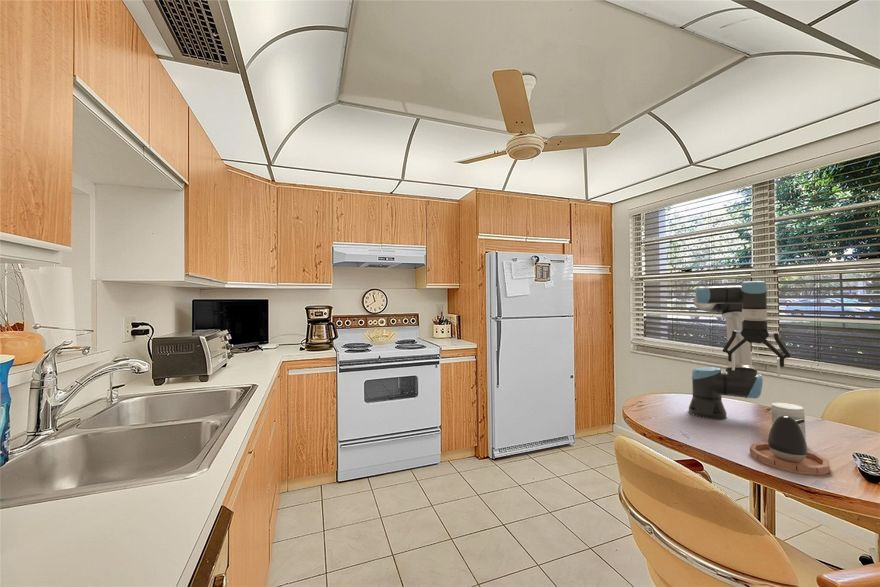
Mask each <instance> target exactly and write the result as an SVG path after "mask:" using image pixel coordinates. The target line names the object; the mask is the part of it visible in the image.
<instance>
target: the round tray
mask: <svg viewBox="0 0 880 587" xmlns="http://www.w3.org/2000/svg"><path fill="white" fill-rule="evenodd" d="M749 453H750V456H751V457H752V458H754V459H755V460H756V461H758V462H760V463H762V464H764V465H766V464H767V465H766V466H770V467H772V468H774V469H779V470H781V471H785V472H790V473H794V474H799V475H800V474H801V475H806V474H807V476H824V474H825V475H828V474H830V472H831V471H830V468H831V467H830V464H831V463H830V460H828V459H826V458H824V457H823V456H822V455H820V454H817V453H815V452H812V451H809V450H808V454H807V455H806V457H805V459H804V460H802V461H800V462H789V461H785V460H782V459H780V458H778V457H776V456H775V455H774V454H773V453H772V452H771V450H770V448H769V446H768V442H755V443H754V442H753V443H751V444H750V446H749ZM829 471H830V472H829ZM827 473H828V474H827Z"/></svg>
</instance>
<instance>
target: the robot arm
mask: <svg viewBox="0 0 880 587" xmlns="http://www.w3.org/2000/svg"><path fill="white" fill-rule="evenodd" d="M694 293H695V294H694V297H693V299H692V301H693V304H694V306H695V307H696V309H698V310H701V311H703V312H708V313H719V314H720V313H721V317H722V318H723V319H725V323H726V324H725V326H726V337H727V342H726V344H725V346H724V347H723V348H722V352H723V353H726V354H727V361H728V366H726V367H725V371H724V370H723V371H722V369H721V368H720V367H715V366H714V367H713V366H705V367H704V366H703V367H696V368H693V370H692V372H691V379H692V380H691V381H692V384H691V385H692V387H691V388H692V397H691V401H690V403H689V405H688V412H690V413H689V414H691V413H692V414H691V415H693V414H694V415H693V416H695V415H697V417H699V416H700V417H699V418H703V417H704V419H711V420H724V419H727V410H726V408H725V406H724V403H723V400H722V396H726V397H735V398H736V397H737V398H743V399H744V398H745V399H758V398H759V397H761V394H762V391H763V384H764V383H763V382H764V381H763V380H764V379H763V375H762V374H760V373H758V370H757V369H756V368H755V367H754V366H753V359H752V350H751V349H752V348H751V344H753V343H756V344H761V343H762V344H764V345H765V346H766V347H767V348H768V349H769V350H770V351H771V352H773V353H774V354H775V355H776V356H777V358H776V375H777V376H779V377H780V376H781V368H784V367H785V359H789V358H791V356H792V355H791V353H790V352H789V350H788V349H787V348H786V346H785V345H784V343H783V341H782V340H781V339H780V336H779V333H778V332H769V331H768V321H767V319H768V306H767V305H768V302H767V301H768V298H767V297H768V287H767V282H765V281H764V280H762V281H761V280H757V281H756V280H753V281H751V280H750V281H743V282H741V285H729V286H728V285H727V286H697V287H696V288H695V292H694ZM769 337H771V338H772V339H773V340H775V343H776V344H777V345H778V347H779V348H780V350H781V351H782V352H780V350H778V349H777V347H775V346H774V345H773V344H772V343H771V342H770V341H769V340H767V338H769Z"/></svg>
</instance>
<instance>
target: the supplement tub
mask: <svg viewBox="0 0 880 587" xmlns="http://www.w3.org/2000/svg"><path fill="white" fill-rule="evenodd" d="M770 408H771V410H770V411H771V426H772V425H773V423H774V421H775V420H776V419H777V418H778V417H780V416H788V417H791V418H793V419H794V420H795V421H796V420H800V419H803V420H804V421H805V422H803V423H801V424H798V425H799V426H800V428H801V430H802V432H803V434H804V437H805V440H806V441H807V438H806V437H807V436H806V419H805V418H806V417H805V416H806V415H805V411H804V407H803V406H801V405H798V404H791V403H787V402H785V403H784V402H772V403H771V407H770Z"/></svg>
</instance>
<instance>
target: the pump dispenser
mask: <svg viewBox="0 0 880 587" xmlns="http://www.w3.org/2000/svg"><path fill="white" fill-rule="evenodd" d="M803 422H805V423H806V420H805V421H804V420H803V419H800V420H796V421H795V420H794V419H793V418H791V417H788V416H780V417H778V418H777V419H776V420H775V421H774V423H773V425H772V424H771V427H770V430H769V434H768V438H767V443H768V446H769V448H770V450H771V452H772V453H773V454H774V455H775V456H776V457H778V458H780V459H782V460H785V461H789V462H800V461H802V460H804V459H805V457H806V455H807V454H808V451H809V448H808V443H807V439H806V440H805V437H804V434H803V432H802V430H801V428H800V426H799V425H798V424H801V423H803Z"/></svg>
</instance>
